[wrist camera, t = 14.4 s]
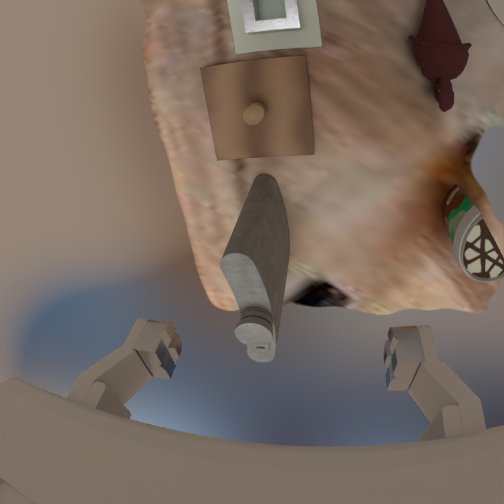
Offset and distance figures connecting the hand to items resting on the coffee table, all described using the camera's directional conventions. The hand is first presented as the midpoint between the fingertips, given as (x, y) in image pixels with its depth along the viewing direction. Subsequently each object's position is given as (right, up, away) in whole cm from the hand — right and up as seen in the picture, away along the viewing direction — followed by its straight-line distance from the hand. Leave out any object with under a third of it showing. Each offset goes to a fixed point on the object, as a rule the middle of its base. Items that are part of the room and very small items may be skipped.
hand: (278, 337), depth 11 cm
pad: (+1, +30, +16) cm, 35 cm away
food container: (+29, +8, +27) cm, 40 cm away
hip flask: (+2, +7, +34) cm, 35 cm away
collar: (+1, +30, +16) cm, 34 cm away
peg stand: (0, +21, +24) cm, 32 cm away
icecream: (+20, +27, +15) cm, 37 cm away
